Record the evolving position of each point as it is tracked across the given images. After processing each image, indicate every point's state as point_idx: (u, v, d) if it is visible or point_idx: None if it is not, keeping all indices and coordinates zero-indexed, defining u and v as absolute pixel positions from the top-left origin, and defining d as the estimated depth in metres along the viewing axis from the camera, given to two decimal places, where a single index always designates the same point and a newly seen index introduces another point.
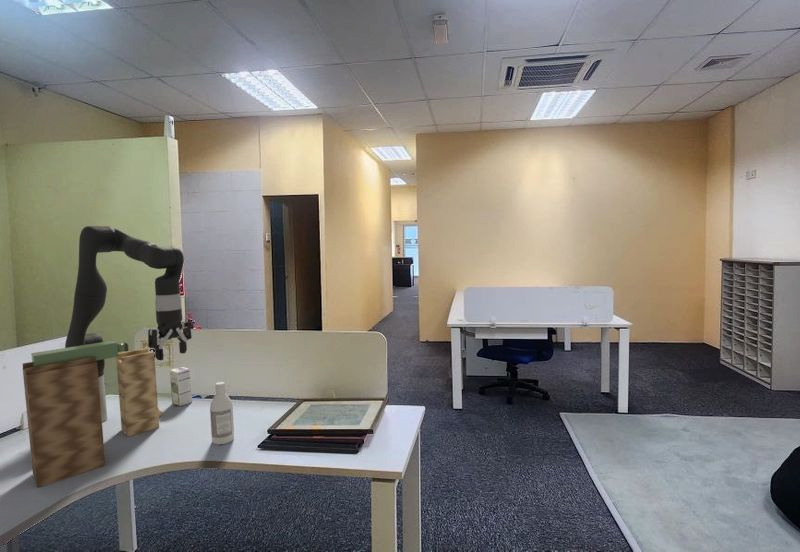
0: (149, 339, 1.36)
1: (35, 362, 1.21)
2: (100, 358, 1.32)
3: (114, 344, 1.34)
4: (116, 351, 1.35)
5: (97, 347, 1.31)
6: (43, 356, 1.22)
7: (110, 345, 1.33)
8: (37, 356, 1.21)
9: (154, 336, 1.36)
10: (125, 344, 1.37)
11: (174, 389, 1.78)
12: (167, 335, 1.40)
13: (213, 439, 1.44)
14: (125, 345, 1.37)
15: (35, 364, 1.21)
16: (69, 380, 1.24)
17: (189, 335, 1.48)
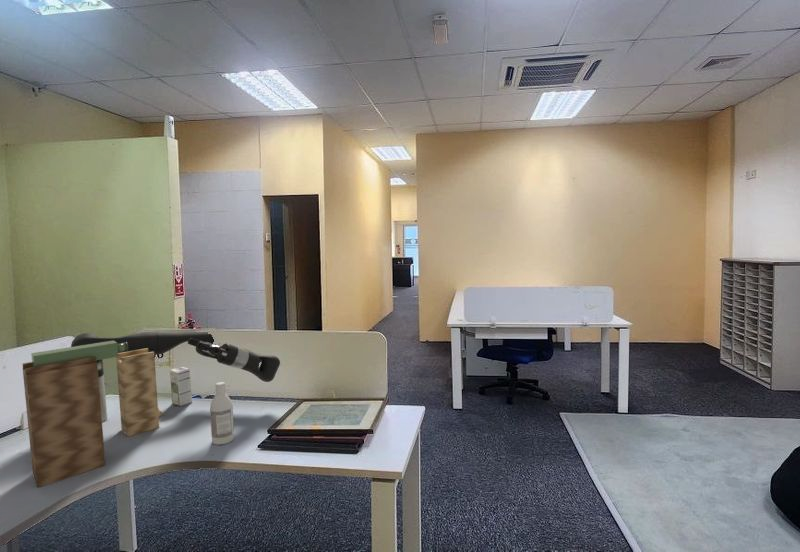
0: (220, 350, 1.55)
1: (35, 362, 1.21)
2: (100, 358, 1.32)
3: (114, 344, 1.34)
4: (116, 351, 1.35)
5: (97, 347, 1.31)
6: (43, 356, 1.22)
7: (110, 345, 1.33)
8: (37, 356, 1.21)
9: (220, 356, 1.55)
10: (125, 344, 1.37)
11: (174, 389, 1.78)
12: (213, 355, 1.57)
13: (213, 439, 1.44)
14: (125, 345, 1.37)
15: (35, 364, 1.21)
16: (69, 380, 1.24)
17: None
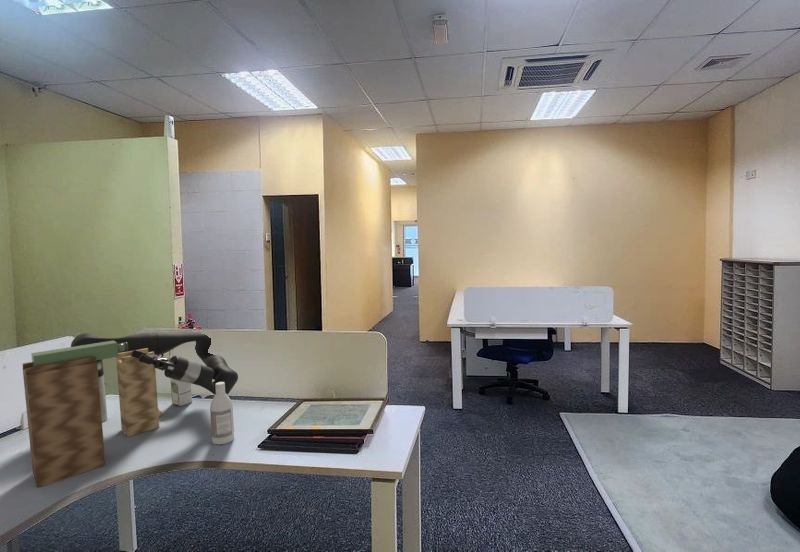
0: (165, 364, 1.41)
1: (35, 362, 1.21)
2: (100, 358, 1.32)
3: (114, 344, 1.34)
4: (116, 351, 1.35)
5: (97, 347, 1.31)
6: (43, 356, 1.22)
7: (110, 345, 1.33)
8: (37, 356, 1.21)
9: None
10: (125, 344, 1.37)
11: (174, 389, 1.78)
12: (159, 368, 1.44)
13: (213, 439, 1.44)
14: (125, 345, 1.37)
15: (35, 364, 1.21)
16: (69, 380, 1.24)
17: None
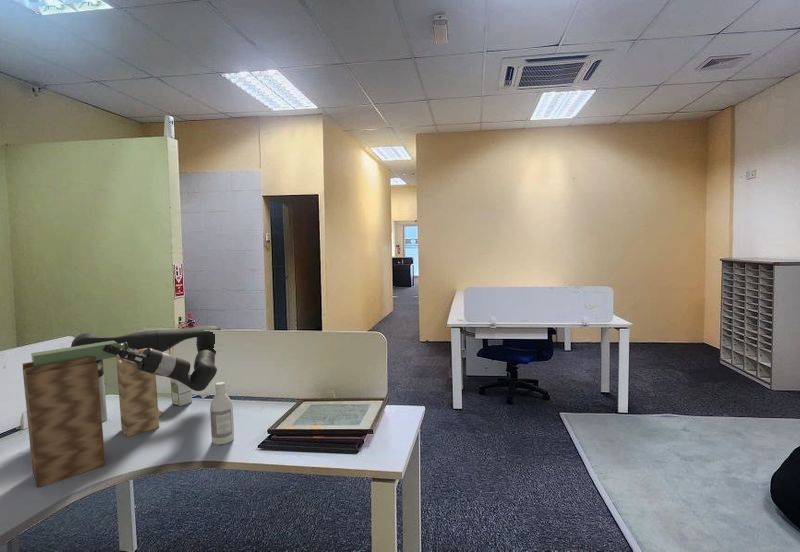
0: (132, 354, 1.34)
1: (35, 362, 1.21)
2: (100, 358, 1.32)
3: (114, 344, 1.34)
4: None
5: (97, 347, 1.31)
6: (43, 356, 1.22)
7: None
8: (37, 356, 1.21)
9: None
10: (125, 344, 1.37)
11: (174, 389, 1.78)
12: (129, 360, 1.38)
13: (213, 439, 1.44)
14: (125, 345, 1.37)
15: (35, 364, 1.21)
16: (69, 380, 1.24)
17: None
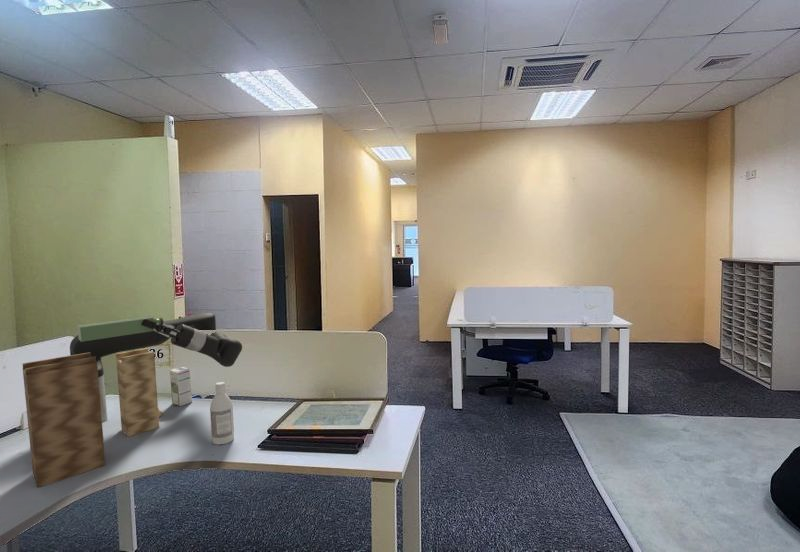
0: (167, 329, 1.44)
1: (82, 333, 1.31)
2: (138, 331, 1.42)
3: (151, 319, 1.44)
4: None
5: (136, 321, 1.41)
6: (89, 328, 1.32)
7: None
8: (83, 327, 1.31)
9: (168, 335, 1.45)
10: (160, 319, 1.48)
11: (174, 389, 1.78)
12: (164, 335, 1.48)
13: (213, 439, 1.44)
14: (160, 320, 1.47)
15: (82, 335, 1.31)
16: (69, 380, 1.24)
17: None
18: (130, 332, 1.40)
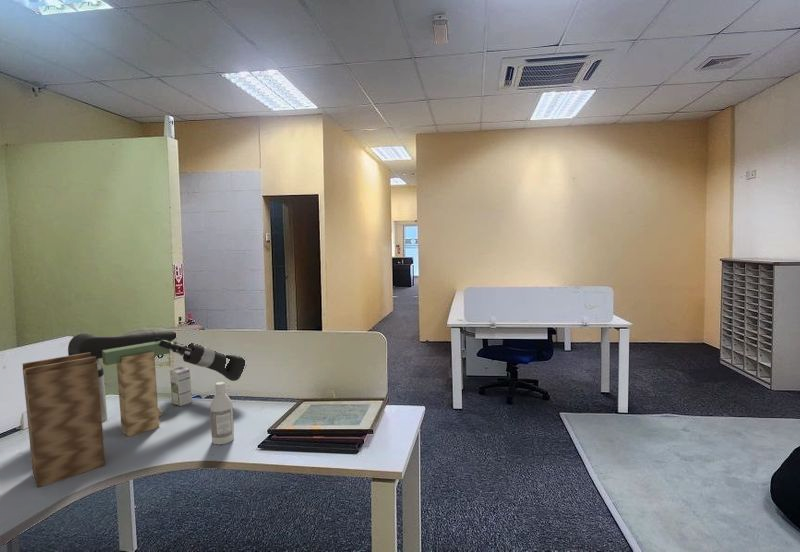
0: (182, 349, 1.60)
1: (106, 357, 1.46)
2: (156, 354, 1.57)
3: None
4: (168, 349, 1.60)
5: (153, 345, 1.57)
6: (112, 353, 1.48)
7: None
8: (108, 352, 1.47)
9: (182, 354, 1.60)
10: (175, 343, 1.63)
11: (174, 389, 1.78)
12: (178, 353, 1.63)
13: (213, 439, 1.44)
14: None
15: (106, 359, 1.46)
16: (69, 380, 1.24)
17: None
18: None
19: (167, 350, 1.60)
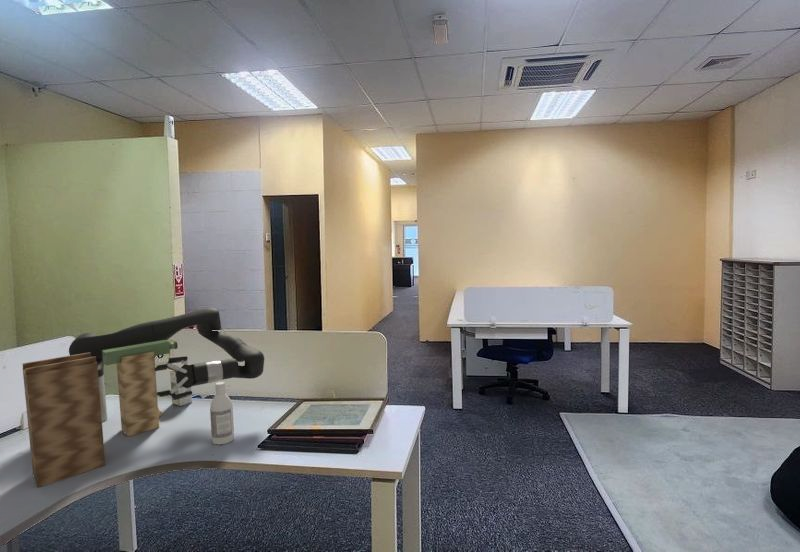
0: (182, 396, 1.48)
1: (106, 357, 1.46)
2: (156, 354, 1.57)
3: (167, 343, 1.60)
4: (168, 349, 1.60)
5: (153, 345, 1.57)
6: (112, 353, 1.48)
7: (163, 343, 1.59)
8: (108, 352, 1.47)
9: None
10: (175, 343, 1.63)
11: None
12: None
13: (213, 439, 1.44)
14: (175, 344, 1.63)
15: (106, 359, 1.46)
16: (69, 380, 1.24)
17: None
18: None
19: (167, 350, 1.60)
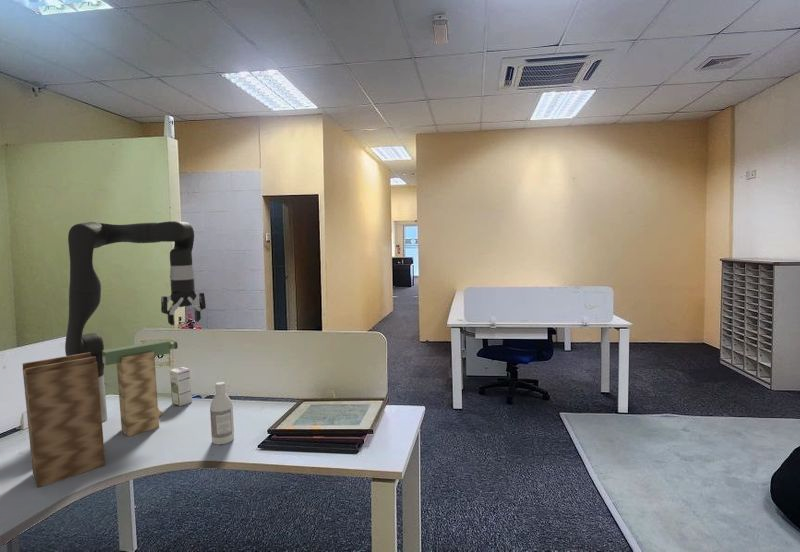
0: None
1: (106, 357, 1.46)
2: (156, 354, 1.57)
3: (167, 343, 1.60)
4: (168, 349, 1.60)
5: (153, 345, 1.57)
6: (112, 353, 1.48)
7: (163, 343, 1.59)
8: (108, 352, 1.47)
9: None
10: (175, 343, 1.63)
11: (174, 389, 1.78)
12: None
13: (213, 439, 1.44)
14: (175, 344, 1.63)
15: (106, 359, 1.46)
16: (69, 380, 1.24)
17: None
18: None
19: (167, 350, 1.60)
